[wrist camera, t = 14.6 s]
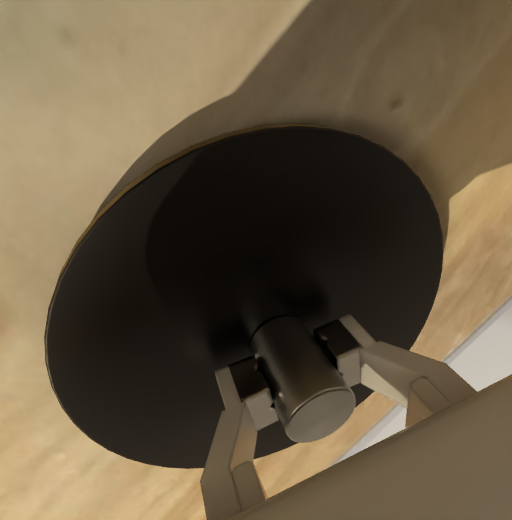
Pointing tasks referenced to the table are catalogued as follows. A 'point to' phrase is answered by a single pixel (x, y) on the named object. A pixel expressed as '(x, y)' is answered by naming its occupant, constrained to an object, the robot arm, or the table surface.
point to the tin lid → (238, 288)
